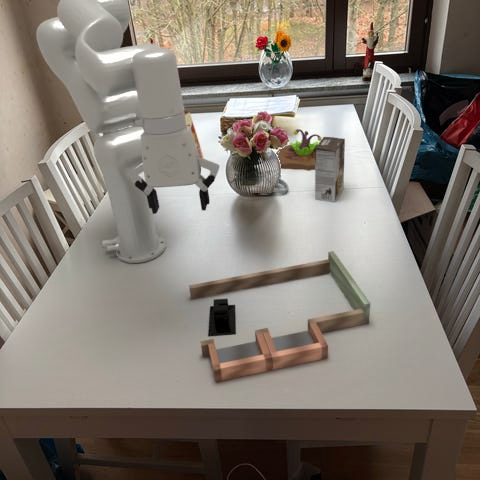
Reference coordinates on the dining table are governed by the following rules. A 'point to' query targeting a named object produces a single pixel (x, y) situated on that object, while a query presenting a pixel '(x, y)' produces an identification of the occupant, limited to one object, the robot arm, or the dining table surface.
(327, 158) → the coffee box
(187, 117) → the milk carton
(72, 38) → the robot arm
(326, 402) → the dining table surface
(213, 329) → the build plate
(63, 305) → the dining table surface
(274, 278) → the track
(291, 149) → the plant
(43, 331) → the dining table surface
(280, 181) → the ceramic mug
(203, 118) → the dining table surface
